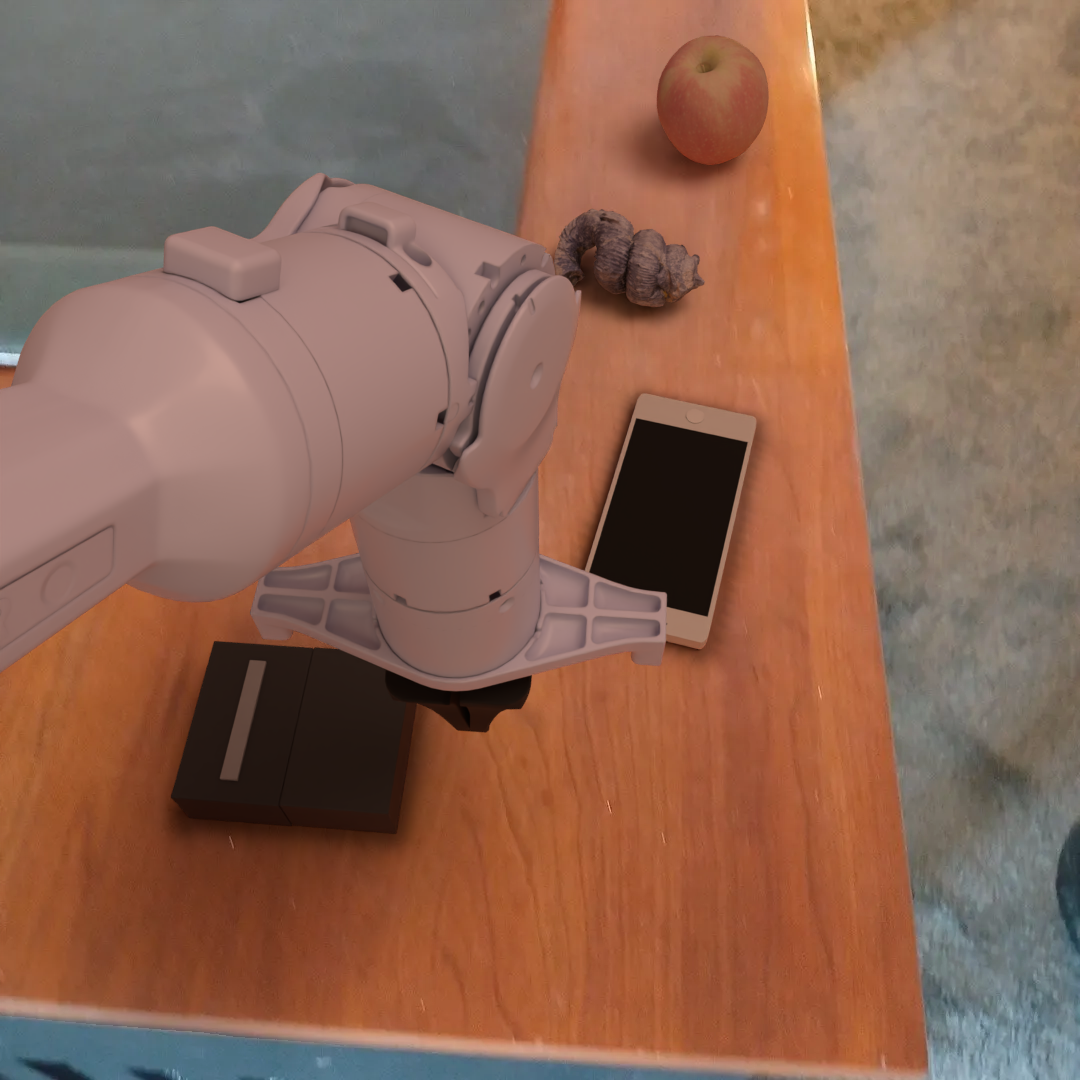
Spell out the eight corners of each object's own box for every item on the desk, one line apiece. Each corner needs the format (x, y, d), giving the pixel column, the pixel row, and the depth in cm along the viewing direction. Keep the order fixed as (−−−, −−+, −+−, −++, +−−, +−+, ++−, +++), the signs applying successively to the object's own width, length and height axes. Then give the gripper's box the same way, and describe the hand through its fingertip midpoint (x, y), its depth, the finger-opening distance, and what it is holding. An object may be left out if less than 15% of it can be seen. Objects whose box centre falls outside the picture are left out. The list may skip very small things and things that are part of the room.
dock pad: (292, 826, 50) (277, 804, 48) (189, 818, 50) (168, 796, 48) (324, 673, 54) (312, 645, 52) (229, 666, 55) (212, 638, 52)
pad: (396, 834, 50) (388, 814, 47) (292, 826, 50) (278, 805, 48) (420, 679, 54) (414, 653, 52) (324, 672, 55) (313, 646, 52)
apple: (650, 117, 79) (659, 14, 72) (753, 117, 78) (772, 14, 72) (653, 188, 74) (663, 85, 68) (762, 189, 74) (783, 86, 67)
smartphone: (756, 425, 63) (759, 415, 62) (704, 651, 55) (707, 643, 54) (638, 400, 64) (639, 390, 63) (571, 618, 56) (571, 610, 55)
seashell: (552, 285, 71) (695, 327, 69) (535, 271, 66) (689, 315, 64) (576, 207, 70) (721, 247, 69) (561, 186, 65) (717, 229, 63)
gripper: (680, 447, 35) (648, 636, 47) (251, 422, 36) (323, 615, 47) (678, 635, 31) (644, 792, 43) (198, 603, 32) (291, 765, 43)
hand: (474, 709), depth 45 cm, fingers closed
